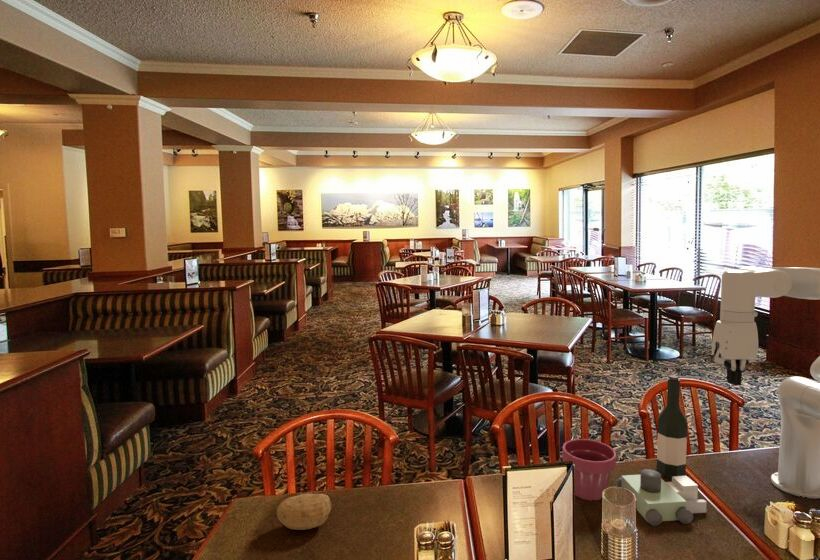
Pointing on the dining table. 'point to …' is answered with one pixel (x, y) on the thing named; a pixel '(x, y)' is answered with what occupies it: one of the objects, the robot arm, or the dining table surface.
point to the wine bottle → (672, 434)
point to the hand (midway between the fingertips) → (733, 383)
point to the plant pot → (590, 466)
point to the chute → (684, 487)
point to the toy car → (659, 498)
